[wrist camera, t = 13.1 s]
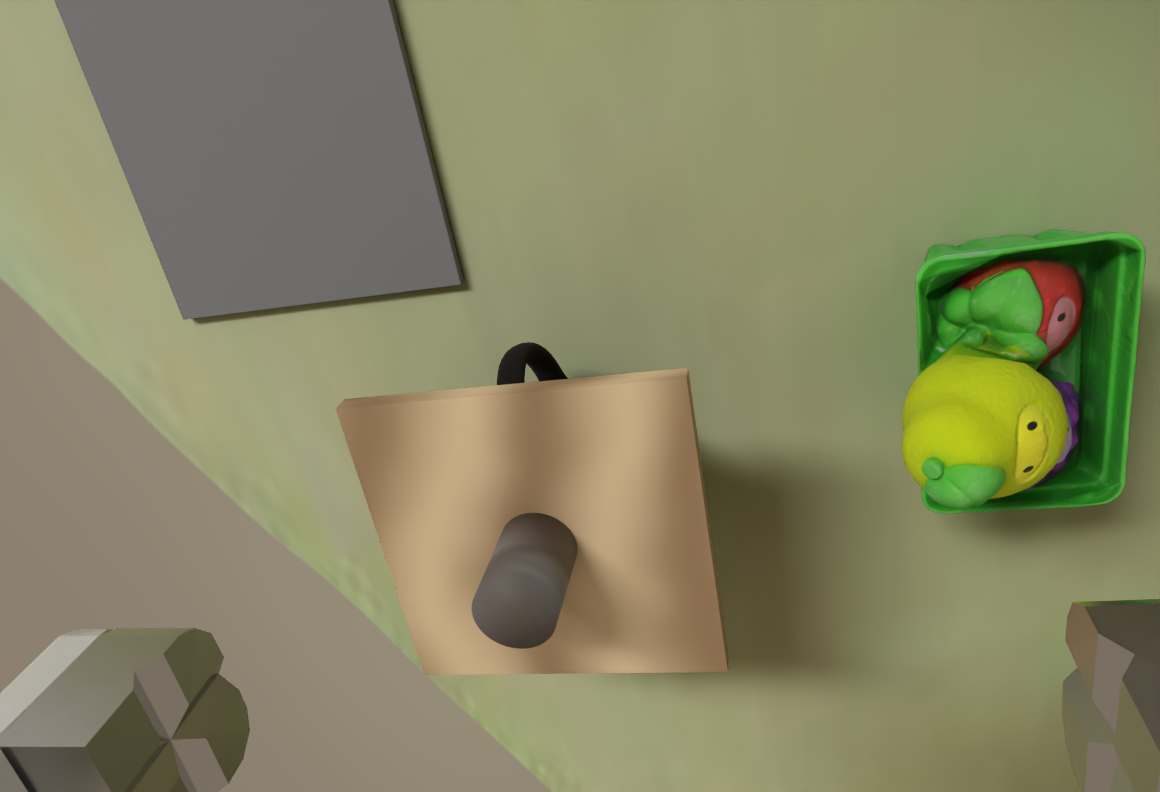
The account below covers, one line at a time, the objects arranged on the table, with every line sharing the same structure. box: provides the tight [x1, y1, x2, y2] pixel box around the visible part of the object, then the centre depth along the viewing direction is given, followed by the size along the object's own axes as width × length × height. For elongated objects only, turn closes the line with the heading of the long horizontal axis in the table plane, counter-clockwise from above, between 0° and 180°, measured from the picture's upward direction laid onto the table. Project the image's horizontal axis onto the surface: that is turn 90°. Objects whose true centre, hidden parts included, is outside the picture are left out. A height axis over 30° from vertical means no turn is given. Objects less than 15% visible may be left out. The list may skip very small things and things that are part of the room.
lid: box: [336, 368, 728, 675], centre depth 32 cm, size 13×13×5 cm
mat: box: [54, 0, 464, 320], centre depth 39 cm, size 15×15×1 cm
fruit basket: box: [902, 230, 1146, 514], centre depth 33 cm, size 11×9×11 cm
